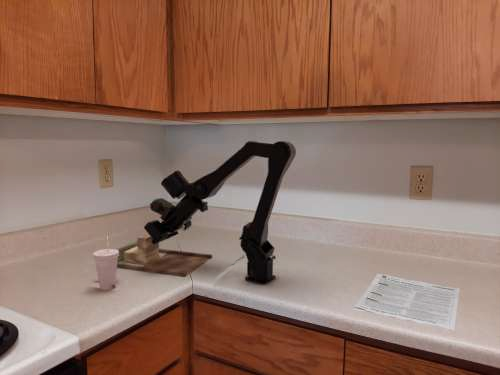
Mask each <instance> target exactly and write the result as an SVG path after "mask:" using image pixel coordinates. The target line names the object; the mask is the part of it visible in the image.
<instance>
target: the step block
mask: <svg viewBox="0 0 500 375" xmlns="http://www.w3.org/2000/svg"><path fill="white" fill-rule="evenodd" d="M152 240H153V238H152V237H151V236H150V235H149V234H148V233H146V234H142V235H141V236H138V237H136V241H137V247H134V248H132V249H130V250H127V251H125V252H124V261H125V262H133V263H141V264H148V263H150V262H152V261H153V260H155V259H157V258H159V256H160V253H159V249H160V242H159V243H156V244H153V243H152Z"/></svg>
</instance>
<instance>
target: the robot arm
mask: <svg viewBox="0 0 500 375" xmlns="http://www.w3.org/2000/svg"><path fill="white" fill-rule="evenodd" d="M296 155H297V149H296V146H294V144H293V143H292V142H290V141H283V140H282V141H281V140H280V141H276V142H273V143H269V142H268V143H267V142H258V141H256V140H248V141H247V142H246V143H245V144H244V145H243V146H242V147H241V148H240V149H239V150H237V151H236V152H235V153H234V154H232V155H231V156H230V157H229V158H227V160H225V161H224V162H223V163H222V164H221V165H219V166H218V167H217V168H216V169H215V170H214V171H211V172H210V173H207V174H205V175H204V176H202V177H200V178H198V179H197V180H195V181H192V182H189V181H188V180H187V178H186V177H185V176H184V175H183V173H182V172H181V171H180V170H174V172H173V173H171V174H169V175H167V176H166V177H164V178H163V179H162V181H161V182H160V186H161V187H163V189H164V190H165V191H166V192H167V194H168V195H170V197H171V198H172V199H177V200H179V201H178V202H177V204H175V205H174V204H173V203H172V202H170V201H168V200H166V199H165V198H162V197H160V198H156V199H153V200H152V202H151V203H149V206H150V207H149V208H150V210H151V211H152V212H154V213H156V214H159V215H160V217H159V218H160V220H161V221H159V220H158V219H154V220H151V221H148V222H146V224H145V225H144V226H143V229H144V230H145V231H146V233H147V234H149V235H150V236H151V237H152V238H153V240H152V243H153V244H156V243H159V244H160V243H161V242H163V241H165V240H168V239H171V238H172V237H175V236H177V235H179V230H182V231H187V230H189V229H190V228H191V227H192V221H191V220H192V219H193V216H194V215H195V214H197V212H198V211H200V212H201V213H204V212H206V211H207V212H208V210H209V206H208V201H204V200H206V199H209V198H212V197H215V196H216V195H217V194H218V193H219V191H220V190H221V189H222V187H223V186H224V184H225V182H226V181H228V180H229V179H230V177H232V176H233V175H234V174H236V173H237V172H238V171H239V170H240V169H241V168H243V167H244V166H245V165H246V164H247V163H249V162H251V160H252V159H254V157H258V158H265V159H267V175H266V177H265V178H266V179H265V181H264V185H263V188H262V191H261V194H260V197H259V201H258V204H257V206H256V209H255V212H254V215H253V216H254V217H253V219H252V221H249V222H248V223H246V224H245V225H243V227H242V232H241V236H240V237H239V238H238V240H240V243H239V244H240V247H241V249H242V251H243V252H244V253H245V256H246V259H247V262H246V266H247V268H246V271H247V273H246V275H247V276H246V277H245V278H244V280H245V281H247V282H248V281H249V282H252V283H257V284H261V285H267V284H268V283H269V282H272V280H274V279H276V275H274V273H273V272H274V258H273V257H272V255H273V254H274V252H275V247H274V245H273V244H271V242H270V241H269V240H268V236H269V221H270V218H271V215H272V213H273V212H272V211H273V209H274V207H275V203H276V200H277V197H278V194H279V190H280V187H281V184H282V181H283V178H284V176H285V174H286V173H287V172H288V170H289V169H290V167H291V165H292V163H293V162H294V159H295V157H296Z"/></svg>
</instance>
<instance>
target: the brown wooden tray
mask: <svg viewBox="0 0 500 375" xmlns="http://www.w3.org/2000/svg"><path fill="white" fill-rule="evenodd" d="M134 247H137V240H136V241H133V242H131V243H130V242H129V243H128V244H125V245H124V246H121V247H118V248H116V250H118V251H119V256H118V262H117V269H123V270H131V271H138V272H146V273H150V274H151V273H153V274H160V275H166V276H173V277H175V276H176V277H182V278H185V277H187V276H188V275H190V274H191V273H193V272H194V271H196V270H197V269H199V268H200V267H201V266H203V265H205V264H206V263H207V262H208V261H210V260H212V259H213V254H209V253H203V252H201V253H200V252H191V251H184V250H183V251H182V250H173V249H163V248H159V254H163V255H162V256H160V255H159V258H157V259H155V260H153V261H152V262H150V263H148V264H141V263H133V262H125V261H124V252H125V251H127V250H130V249H132V248H134Z"/></svg>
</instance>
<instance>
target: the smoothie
mask: <svg viewBox="0 0 500 375" xmlns="http://www.w3.org/2000/svg"><path fill="white" fill-rule="evenodd" d="M116 249H117V248H116ZM116 249H114V248H110V236H109V235H106V248H105V249H99V250H96V251H94V252H93V253H92V258H93V259H94V263H95V267H96V273H97V278H98V279H97V280H98V284H99V290H100V291H103V292H104V291H106V292H107V291H111V290H114V289H115V288H116V283H117V270H118V268H117V262H118V256H119V251H118V250H116Z"/></svg>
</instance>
